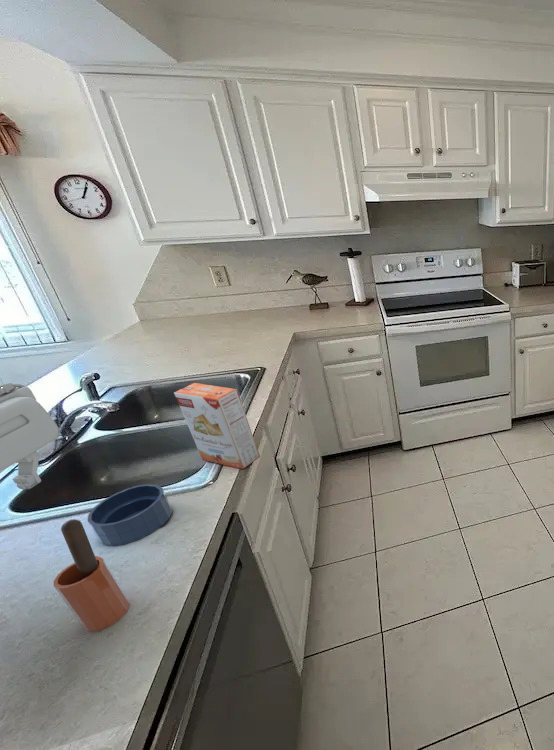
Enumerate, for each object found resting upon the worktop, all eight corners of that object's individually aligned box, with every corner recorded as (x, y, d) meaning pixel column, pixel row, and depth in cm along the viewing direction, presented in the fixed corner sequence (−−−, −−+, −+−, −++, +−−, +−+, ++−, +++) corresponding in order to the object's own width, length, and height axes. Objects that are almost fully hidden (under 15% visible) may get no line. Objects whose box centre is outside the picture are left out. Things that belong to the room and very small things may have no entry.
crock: (78, 639, 66) (44, 593, 61) (96, 607, 71) (66, 562, 66) (122, 626, 68) (92, 581, 63) (137, 596, 73) (110, 551, 68)
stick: (96, 622, 68) (55, 528, 60) (102, 610, 70) (64, 517, 62) (112, 618, 69) (74, 525, 61) (118, 607, 71) (82, 515, 63)
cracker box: (201, 462, 108) (171, 391, 99) (221, 449, 113) (195, 381, 104) (242, 471, 104) (215, 398, 95) (261, 457, 109) (237, 387, 100)
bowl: (88, 555, 81) (74, 533, 79) (117, 512, 92) (105, 492, 89) (161, 538, 85) (149, 516, 82) (180, 498, 95) (171, 478, 93)
